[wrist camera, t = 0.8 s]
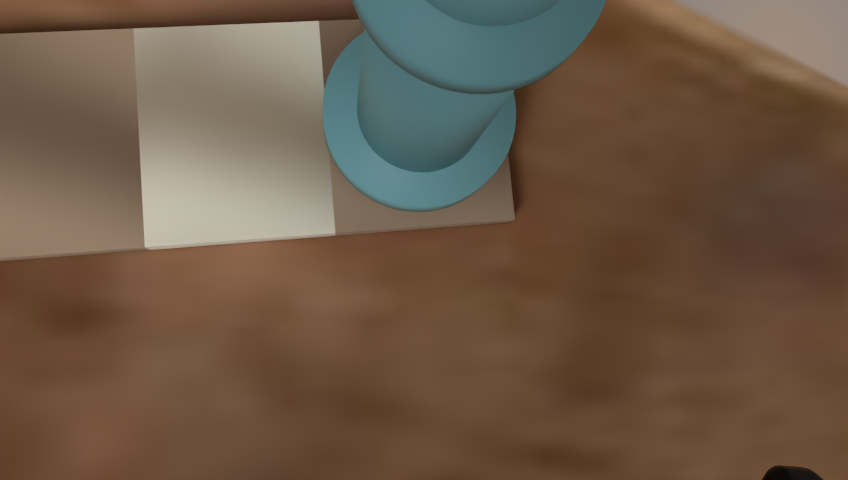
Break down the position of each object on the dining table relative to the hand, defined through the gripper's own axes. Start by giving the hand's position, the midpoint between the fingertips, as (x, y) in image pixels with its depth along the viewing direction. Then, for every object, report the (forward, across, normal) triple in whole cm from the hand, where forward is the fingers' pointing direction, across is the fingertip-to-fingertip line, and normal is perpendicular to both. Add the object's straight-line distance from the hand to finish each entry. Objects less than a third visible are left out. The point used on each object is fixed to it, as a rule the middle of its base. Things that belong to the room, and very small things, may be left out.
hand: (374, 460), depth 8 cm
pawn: (+14, -1, +2) cm, 14 cm away
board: (+14, +6, +4) cm, 15 cm away
